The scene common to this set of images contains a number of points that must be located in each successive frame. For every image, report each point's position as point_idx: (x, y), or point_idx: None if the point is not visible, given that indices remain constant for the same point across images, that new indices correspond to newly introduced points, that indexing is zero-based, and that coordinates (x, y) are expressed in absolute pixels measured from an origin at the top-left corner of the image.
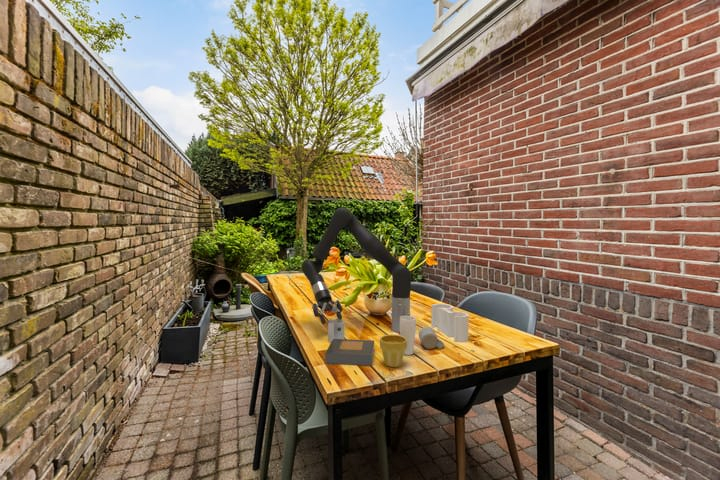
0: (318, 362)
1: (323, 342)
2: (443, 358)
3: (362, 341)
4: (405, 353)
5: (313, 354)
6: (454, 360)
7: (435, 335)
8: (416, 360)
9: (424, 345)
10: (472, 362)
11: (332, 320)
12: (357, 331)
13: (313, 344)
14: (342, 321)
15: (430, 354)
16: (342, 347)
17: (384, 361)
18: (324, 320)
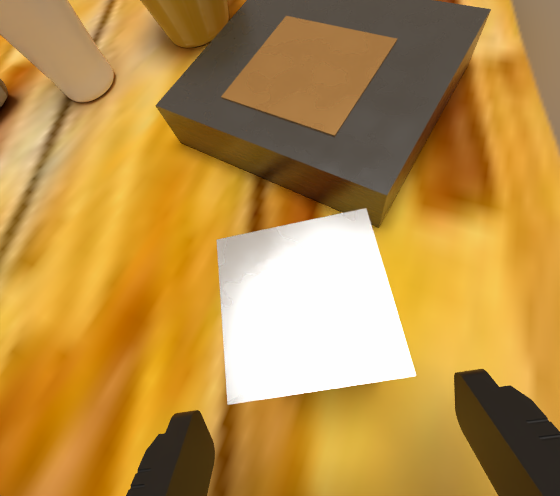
0: (505, 78)
1: (425, 351)
2: None
3: (220, 106)
4: (109, 64)
5: (529, 170)
6: None
7: None
8: (116, 35)
9: (3, 82)
10: None
11: (347, 343)
12: (66, 489)
13: (520, 341)
14: (237, 248)
15: None
16: (370, 51)
17: (226, 13)
18: (487, 382)
